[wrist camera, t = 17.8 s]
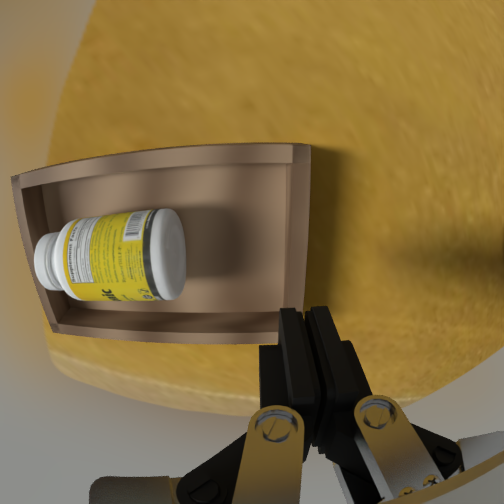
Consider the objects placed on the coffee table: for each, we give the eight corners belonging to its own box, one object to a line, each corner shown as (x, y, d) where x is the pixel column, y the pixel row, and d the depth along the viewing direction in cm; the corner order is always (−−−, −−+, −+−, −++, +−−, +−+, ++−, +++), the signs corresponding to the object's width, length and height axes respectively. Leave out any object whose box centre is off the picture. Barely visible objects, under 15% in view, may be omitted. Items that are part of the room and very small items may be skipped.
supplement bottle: (191, 291, 20) (74, 292, 20) (186, 211, 19) (69, 223, 19) (168, 311, 14) (31, 306, 14) (161, 202, 14) (24, 221, 14)
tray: (299, 142, 18) (311, 145, 15) (293, 313, 23) (299, 341, 20) (38, 168, 18) (10, 176, 14) (70, 310, 23) (53, 332, 20)
